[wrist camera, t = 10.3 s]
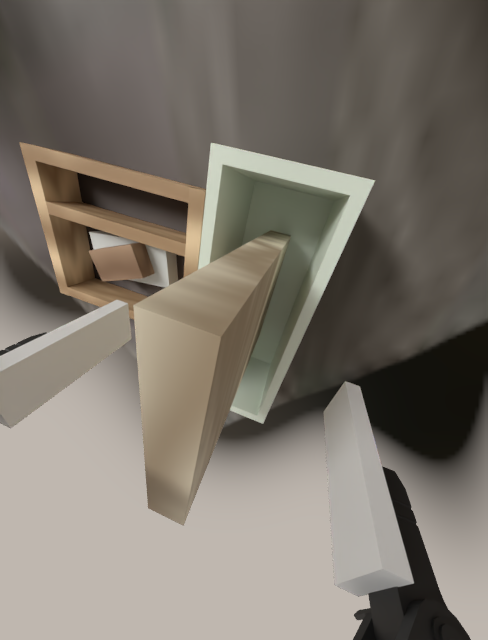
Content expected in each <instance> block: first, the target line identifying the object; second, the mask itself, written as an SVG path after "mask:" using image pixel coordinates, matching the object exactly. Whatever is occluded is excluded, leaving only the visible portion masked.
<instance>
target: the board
mask: <svg viewBox="0 0 488 640" xmlns="http://www.w3.org/2000/svg"><path fill="white" fill-rule="evenodd" d="M290 238H291V236H290V235H287V234H283V233H280V232H276V231H272V230H270V231H268V232H267V233H265V234H263V235H261V236H259V237H257V238H256V239H254V240H252V241H250V242H248V243H246V244H245V245H243V246H241V247H239V248H237V249H235V250H234V251H232V252H230V253H228V254H226V255H224V256H223V257H221V258H219V259H217V260H215V261H213V262H212V263H210V264H208V265H206V266H204V267H202V268H201V269H199V270H197V271H195V272H193V273H191V274H190V275H188V276H186V277H184V278H182V279H180V280H179V281H177V282H175V283H173V284H171V285H169V286H168V287H166V288H164V289H162V290H160V291H158V292H157V293H155V294H153V295H151V296H149V297H147V298H146V299H144V300H142V301H140V302H138V303H136V304H135V305H133V307H134V321H135V335H136V348H137V362H138V375H139V389H140V402H141V416H142V430H143V443H144V457H145V471H146V484H147V497H148V508H149V509H151V510H153V511H155V512H157V513H159V514H161V515H163V516H165V517H167V518H169V519H171V520H173V521H175V522H177V523H179V524H181V525H184V523H185V520H186V518H187V515H188V513H189V510H190V508H191V505H192V503H193V500H194V498H195V495H196V493H197V490H198V488H199V485H200V483H201V480H202V478H203V475H204V473H205V470H206V468H207V465H208V463H209V460H210V458H211V455H212V453H213V450H214V448H215V445H216V443H217V440H218V438H219V435H220V433H221V430H222V428H223V425H224V423H225V420H226V418H227V415H228V413H229V410H230V408H231V405H232V403H233V400H234V398H235V395H236V393H237V390H238V388H239V385H240V383H241V380H242V378H243V375H244V373H245V370H246V368H247V365H248V363H249V360H250V358H251V355H252V353H253V350H254V348H255V345H256V343H257V340H258V338H259V335H260V332H261V329H262V326H263V323H264V319H265V316H266V313H267V310H268V307H269V304H270V301H271V298H272V294H273V291H274V288H275V285H276V282H277V279H278V276H279V273H280V269H281V266H282V263H283V260H284V257H285V254H286V251H287V248H288V245H289V241H290Z"/></svg>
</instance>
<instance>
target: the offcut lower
mask: <svg viewBox="0 0 488 640" xmlns="http://www.w3.org/2000/svg"><path fill="white" fill-rule="evenodd" d="M89 234H90V237H91V241H92V245H93V249H94V250H95V249H100V248H105V247H112V246H119V245H126V244H132V243H139V242H136V241H133V240H130V239H127V238H124V237H120V236H117V235H114V234H111V233H108V232H104V231H94V232H89ZM145 246H146V249H147V252H148V255H149V258H150V261H151V263H152V266H153V269H154V272H155V273H154V274H152V275H150V276H147V277H145V278H141V279H128V280H132V281H137V282H142V283H146V284H151V285H156V286H161V287H168V286H169V285H171V284H173V283H175V282H177V281H178V271H177V257H176V254H175V253H171V252H168V251H165V250H162V249H159V248H155V247H152V246H149V245H146V244H145Z"/></svg>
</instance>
